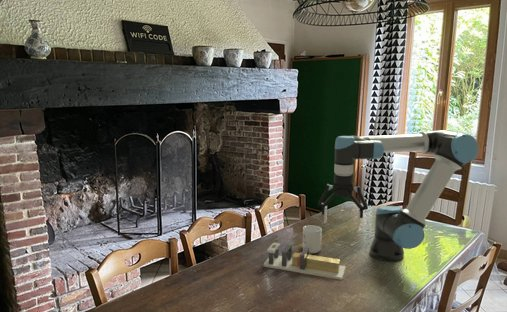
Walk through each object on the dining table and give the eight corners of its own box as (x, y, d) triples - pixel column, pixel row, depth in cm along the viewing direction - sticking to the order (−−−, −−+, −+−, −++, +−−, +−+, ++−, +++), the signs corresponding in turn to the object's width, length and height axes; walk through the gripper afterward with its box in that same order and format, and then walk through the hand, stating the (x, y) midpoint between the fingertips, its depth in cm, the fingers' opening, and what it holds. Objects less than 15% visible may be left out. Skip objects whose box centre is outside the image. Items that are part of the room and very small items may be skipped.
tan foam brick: (339, 268, 167) (340, 258, 166) (338, 273, 163) (338, 263, 162) (294, 261, 174) (294, 251, 173) (291, 265, 170) (292, 255, 169)
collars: (308, 261, 174) (309, 247, 173) (304, 269, 166) (304, 255, 165) (273, 255, 180) (273, 242, 179) (267, 263, 172) (267, 249, 171)
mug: (324, 252, 186) (325, 230, 184) (308, 255, 182) (309, 233, 180) (311, 243, 197) (311, 222, 195) (295, 246, 193) (296, 224, 191)
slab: (345, 268, 170) (345, 266, 169) (341, 280, 160) (342, 277, 159) (271, 256, 182) (271, 254, 181) (263, 266, 171) (263, 264, 171)
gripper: (375, 173, 160) (372, 223, 163) (314, 170, 167) (313, 217, 170) (375, 177, 153) (373, 229, 156) (311, 174, 159) (310, 223, 163)
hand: (341, 223), depth 163 cm, fingers open, 13 cm apart
